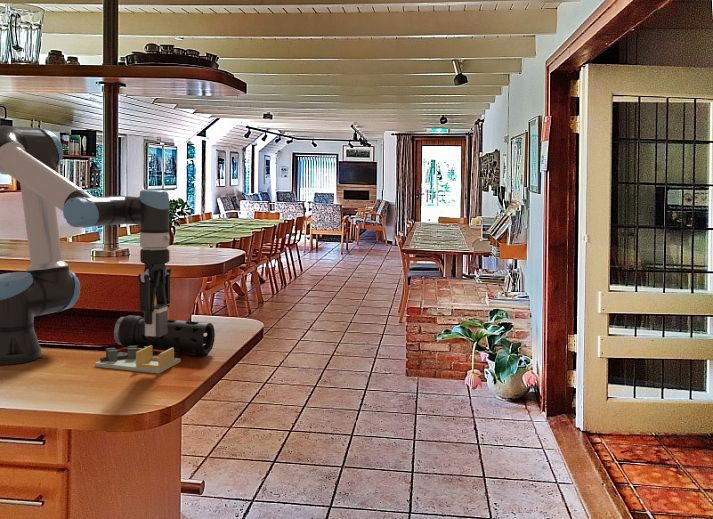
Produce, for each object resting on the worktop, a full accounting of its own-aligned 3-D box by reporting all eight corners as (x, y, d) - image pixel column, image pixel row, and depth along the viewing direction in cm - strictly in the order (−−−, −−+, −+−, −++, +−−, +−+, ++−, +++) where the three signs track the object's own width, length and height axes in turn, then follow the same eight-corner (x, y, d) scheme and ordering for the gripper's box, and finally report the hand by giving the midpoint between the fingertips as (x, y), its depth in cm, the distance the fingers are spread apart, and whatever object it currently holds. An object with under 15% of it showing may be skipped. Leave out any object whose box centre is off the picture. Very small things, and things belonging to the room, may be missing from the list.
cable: (100, 361, 192) (99, 358, 192) (100, 358, 195) (100, 355, 195) (148, 359, 195) (148, 356, 195) (148, 356, 199) (148, 353, 198)
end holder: (135, 366, 189) (135, 352, 188) (150, 359, 196) (150, 345, 195) (160, 369, 187) (160, 354, 186) (174, 361, 194) (174, 347, 194)
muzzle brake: (202, 361, 200) (202, 325, 199) (112, 352, 205) (112, 318, 204) (215, 352, 209) (215, 318, 208) (129, 344, 215) (128, 311, 213)
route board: (94, 366, 191) (94, 352, 190) (119, 355, 202) (119, 341, 202) (158, 373, 186) (158, 358, 186) (180, 361, 198) (180, 348, 198)
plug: (144, 335, 189) (143, 306, 188) (152, 331, 193) (152, 303, 192) (159, 337, 188) (159, 307, 187) (168, 333, 192) (167, 304, 191)
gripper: (150, 252, 178) (151, 342, 181) (183, 245, 195) (183, 327, 198) (124, 250, 180) (125, 339, 183) (158, 244, 197) (159, 325, 200)
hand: (155, 333), depth 190 cm, fingers closed on plug, 5 cm apart
